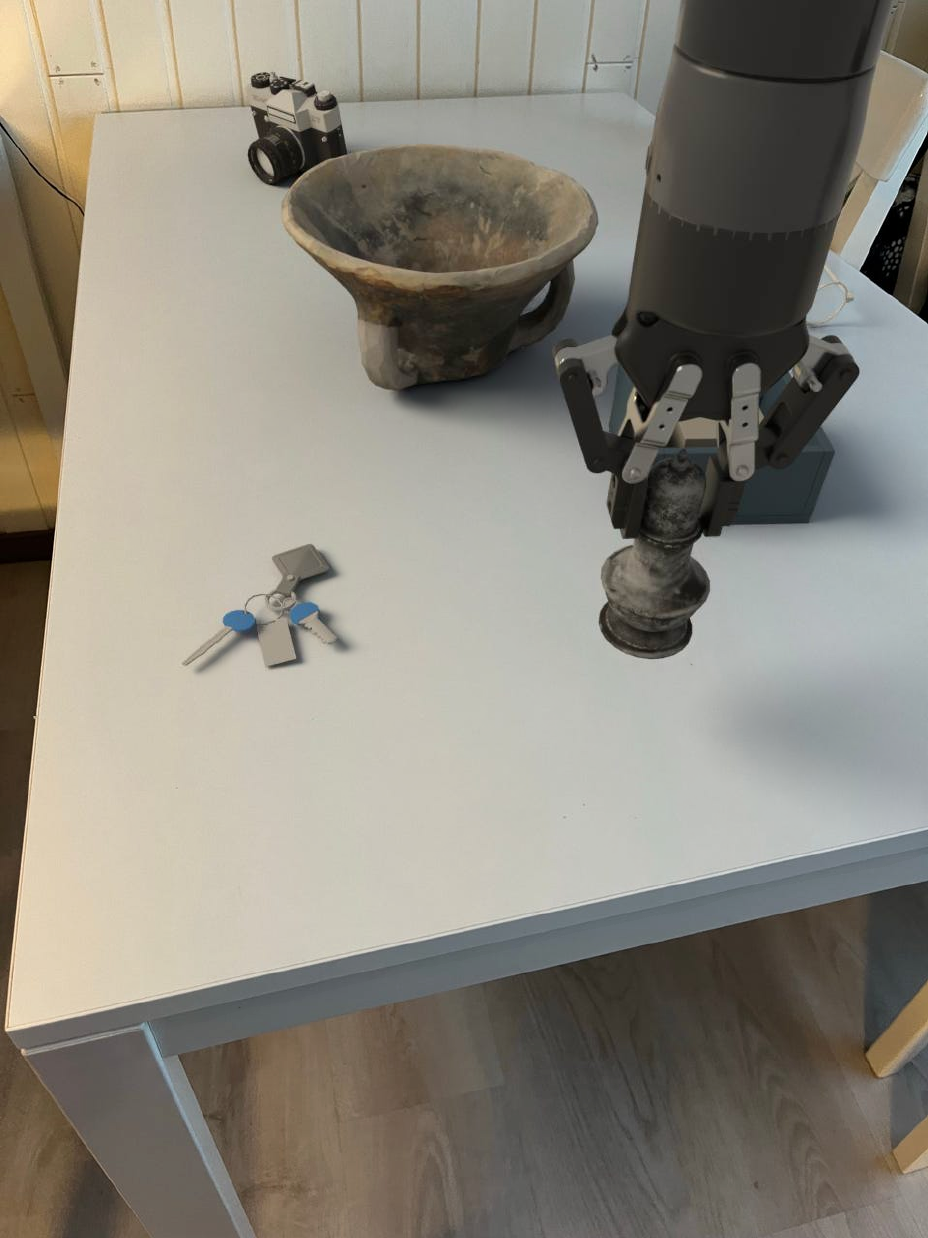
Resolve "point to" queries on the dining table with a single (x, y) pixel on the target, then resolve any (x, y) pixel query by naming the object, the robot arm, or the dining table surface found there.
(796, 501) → the crate
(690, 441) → the block
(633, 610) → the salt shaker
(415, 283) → the bowl
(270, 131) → the camera
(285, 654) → the key chain
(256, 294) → the dining table surface
